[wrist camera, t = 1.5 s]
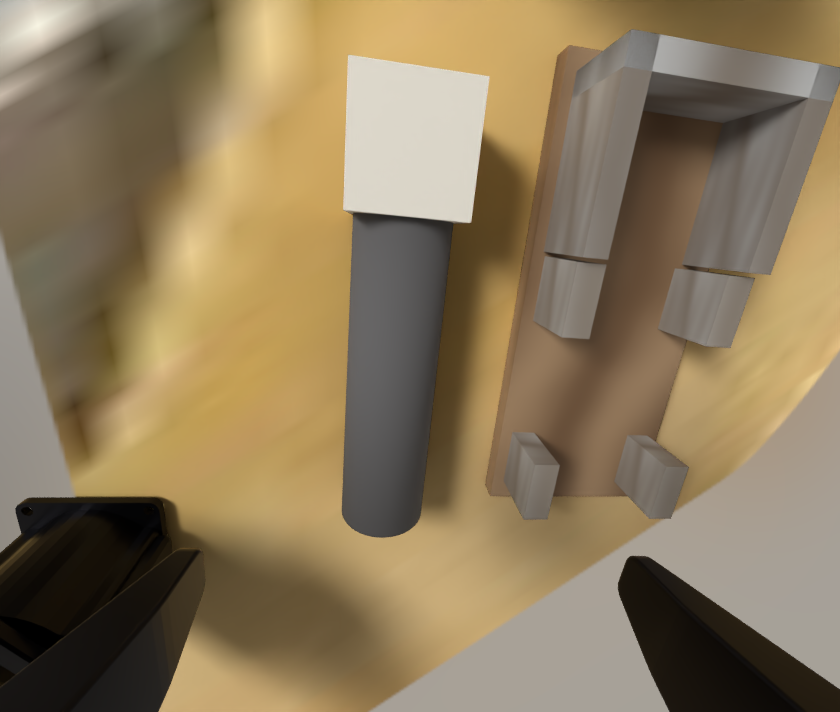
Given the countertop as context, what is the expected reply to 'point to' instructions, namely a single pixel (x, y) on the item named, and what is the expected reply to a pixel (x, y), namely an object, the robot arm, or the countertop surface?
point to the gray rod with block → (400, 271)
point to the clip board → (643, 252)
